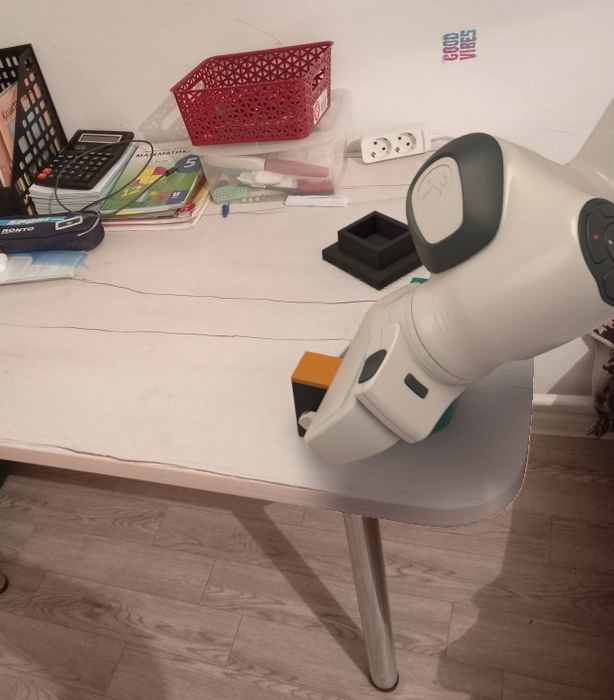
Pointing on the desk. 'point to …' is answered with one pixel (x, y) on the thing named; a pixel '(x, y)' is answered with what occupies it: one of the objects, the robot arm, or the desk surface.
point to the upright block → (312, 382)
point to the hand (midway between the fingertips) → (319, 395)
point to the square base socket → (374, 250)
